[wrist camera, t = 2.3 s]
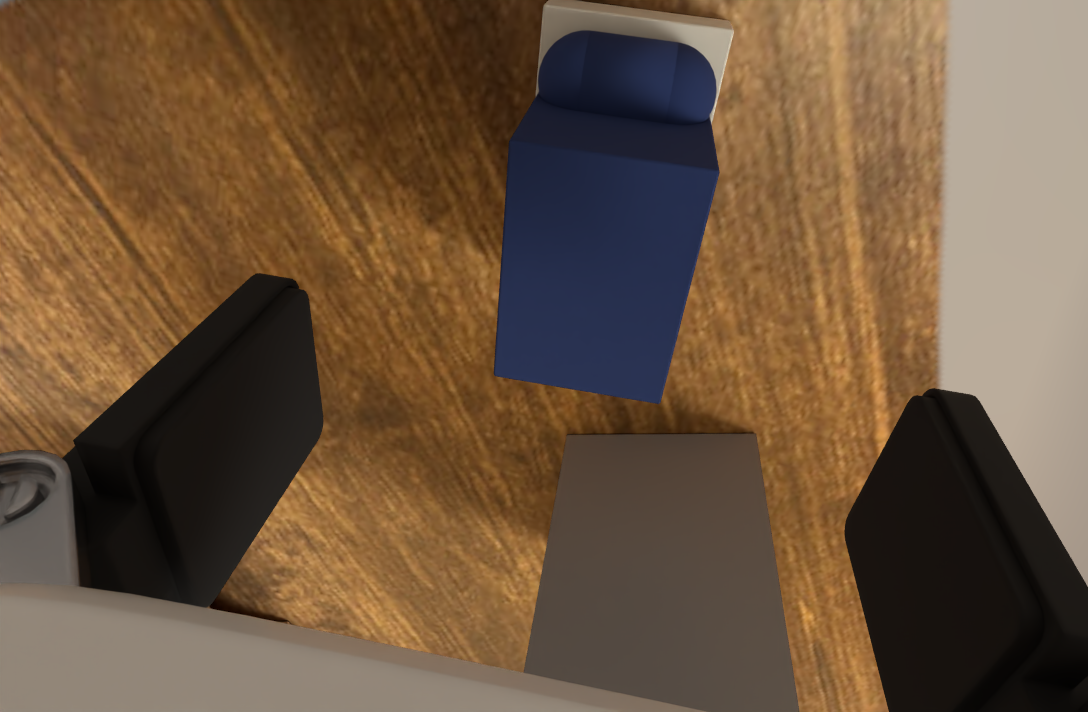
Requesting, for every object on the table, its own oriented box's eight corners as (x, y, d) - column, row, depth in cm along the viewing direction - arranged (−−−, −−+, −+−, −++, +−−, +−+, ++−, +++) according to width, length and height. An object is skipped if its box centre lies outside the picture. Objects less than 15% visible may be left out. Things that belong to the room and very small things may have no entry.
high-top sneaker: (665, 298, 21) (664, 412, 17) (525, 276, 22) (487, 381, 17) (730, 20, 17) (753, 74, 12) (550, -4, 17) (506, 41, 12)
